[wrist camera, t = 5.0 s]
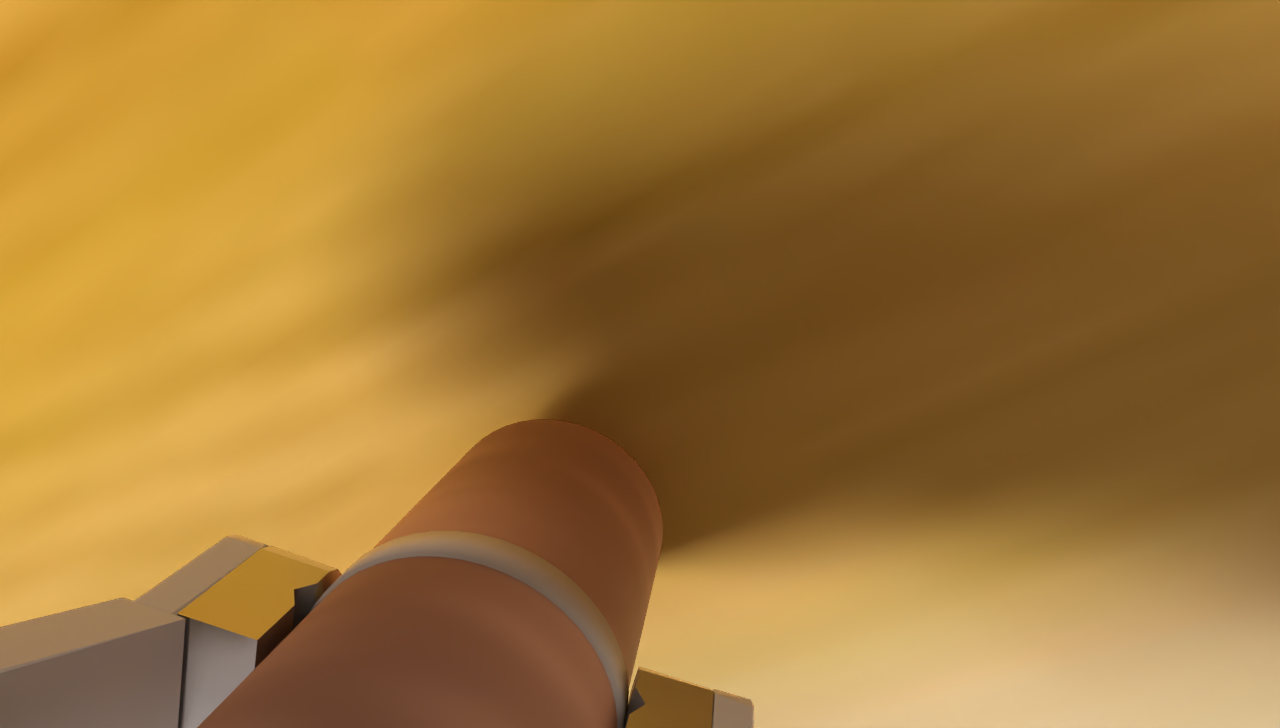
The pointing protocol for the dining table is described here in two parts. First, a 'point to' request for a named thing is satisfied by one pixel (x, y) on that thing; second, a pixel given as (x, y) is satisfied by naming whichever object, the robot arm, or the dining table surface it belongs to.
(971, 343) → the dining table surface
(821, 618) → the dining table surface
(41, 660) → the robot arm
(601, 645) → the terracotta peg
